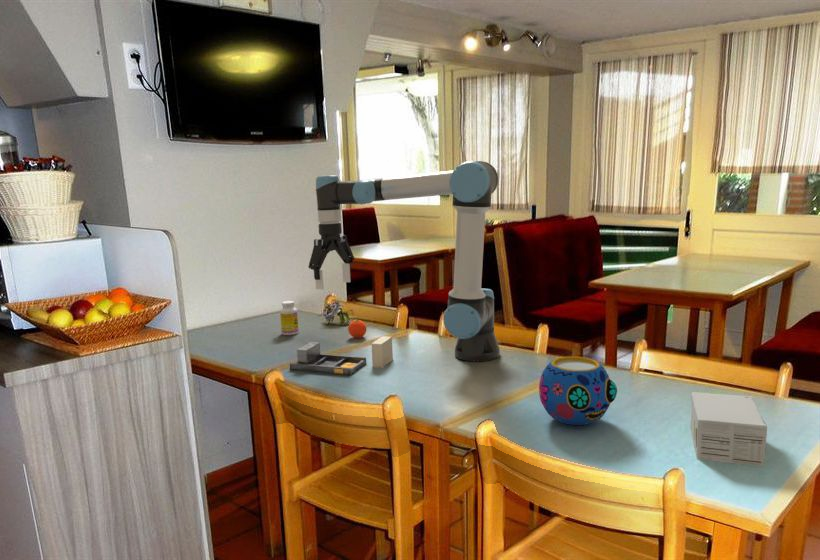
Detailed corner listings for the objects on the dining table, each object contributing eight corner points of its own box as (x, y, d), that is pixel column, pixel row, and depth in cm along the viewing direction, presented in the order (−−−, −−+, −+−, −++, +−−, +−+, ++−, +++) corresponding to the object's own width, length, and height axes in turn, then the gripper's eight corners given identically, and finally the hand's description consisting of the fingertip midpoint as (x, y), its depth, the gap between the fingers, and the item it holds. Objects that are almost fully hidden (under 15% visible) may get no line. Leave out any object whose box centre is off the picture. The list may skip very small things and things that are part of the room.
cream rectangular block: (392, 359, 210) (391, 336, 209) (382, 368, 202) (381, 344, 200) (383, 358, 211) (382, 336, 210) (372, 367, 203) (371, 343, 202)
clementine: (345, 336, 241) (344, 318, 240) (362, 333, 244) (361, 316, 243) (352, 341, 234) (351, 322, 233) (369, 338, 237) (368, 320, 236)
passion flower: (329, 336, 262) (315, 312, 264) (350, 327, 269) (336, 303, 271) (339, 326, 253) (324, 301, 255) (360, 316, 260) (345, 292, 262)
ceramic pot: (568, 441, 144) (569, 379, 141) (525, 415, 160) (524, 358, 157) (627, 427, 151) (629, 367, 148) (580, 402, 167) (581, 348, 164)
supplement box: (689, 428, 149) (690, 391, 148) (750, 434, 145) (753, 396, 143) (695, 459, 134) (697, 418, 132) (765, 467, 129) (768, 425, 128)
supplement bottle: (296, 335, 245) (294, 303, 243) (280, 336, 245) (277, 304, 243) (300, 331, 251) (297, 300, 249) (283, 331, 252) (281, 300, 249)
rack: (366, 363, 206) (365, 344, 205) (350, 375, 195) (348, 355, 194) (308, 358, 214) (307, 340, 213) (289, 370, 203) (288, 350, 202)
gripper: (345, 219, 219) (349, 278, 222) (294, 226, 199) (299, 291, 202) (362, 219, 214) (365, 280, 218) (311, 226, 194) (316, 293, 198)
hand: (333, 285), depth 210 cm, fingers open, 13 cm apart
